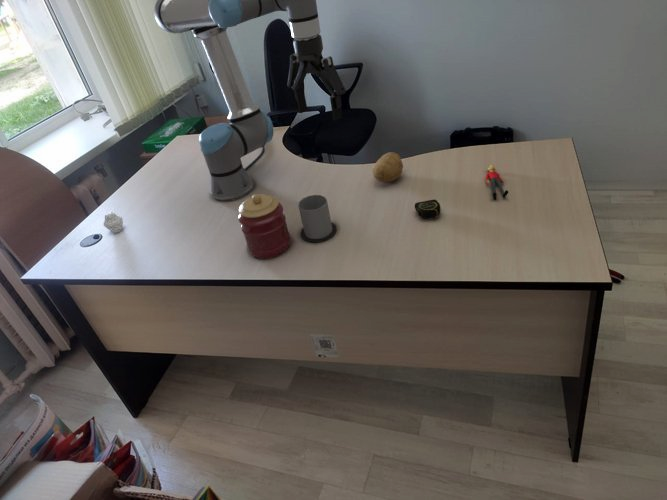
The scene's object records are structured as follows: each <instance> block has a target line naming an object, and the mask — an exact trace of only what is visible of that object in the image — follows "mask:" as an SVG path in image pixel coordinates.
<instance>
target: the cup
mask: <svg viewBox="0 0 667 500" xmlns="http://www.w3.org/2000/svg"><path fill="white" fill-rule="evenodd" d="M297 207H298V211H299V216H300V219H301V223H302V229H303V228H304V233H305V235H306V237H308V238H310V239H320V238H324V237H326V236H328V235H329V234H330V233H331V232H332V223H333V222H332V220H331V213H330V208H329V203H328V199H327V198H326V196H324V195H321V194H312V195H307V196H306V197H302V199H301V200H300V201H299V202H298V204H297ZM331 222H332V223H331Z"/></svg>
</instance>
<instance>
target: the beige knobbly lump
mask: <svg viewBox="0 0 667 500" xmlns="http://www.w3.org/2000/svg"><path fill="white" fill-rule="evenodd" d="M123 225H124V221H123V217H122V216H120V215H118V214H116V213H115V212H113V211H110V212H108V213H106V214H105V215H104V221H103V227H105V228H106V229H107V230H108V231H110V232H112V233H114V234H115V233H116V234H117V233H119V232H121V231H122V230H123Z"/></svg>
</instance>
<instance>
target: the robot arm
mask: <svg viewBox="0 0 667 500" xmlns="http://www.w3.org/2000/svg"><path fill="white" fill-rule="evenodd" d="M153 8H154V9H153V15H154V19H155V21H156V23H157V24H158V26H159V27H160V28H161V29H162V30H163V31H165V32H167V33H170V34H184V33H187V32H190V31H191V32H192V34H193V36H194V37H195V38H197V39H198V40H200V41H201V44H202V47H203V49H204V51H205V53H206V56H207V59H208V62H209V64H210V66H211V69H212V71H213V74H214V76H215V79H216V81H217V84H218V87H219V88H220V91H221V94H222V96H223V99H224V101H225V103H226V107H227V108H228V111H229V113H228V116H227V121H228V122H219V123H216V124H215V123H214V124H211V125H210V126H208V127H206V128H205V129H204V130H203V131H202V132H201V133H200V134H199V137H198V142H199V147H200V152H201V153H202V156H203V158H204V161H205V163H206V166H207V169H208V172H209V175H210V194H211V196H212V198H213V199H214V200H216V201H219V202H229V201H235V200H238V199H241V198H244V197H245V196H246V195H248V194H249V193H251V191H252V190H253V189H254V186H255V185H254V181H253V179H252V178H251V176H250V175H249V173H248V171H247V170H249V169H250V168H251V167H252V166H254V164H255V163H256V162H257V161H259V160H260V159H261V157H262V156H263V155H264V153H265V150H266V149H265V148H266V147H265V146H266V145H268V144H269V143H270V142H272V139H273V137H274V125H273V124H276V122H275V121H274V120H272V119H271V117H270V115H268V113H267V111H265V110H261V109H260V107H259V106H258V105H256V104H255V103H254V102H253V99H252V97H251V94H250V92H249V88H248V87H247V84H246V81H245V78H244V75H243V73H242V70H241V68H240V65H239V62H238V60H237V56H236V54H235V52H234V49H233V46H232V44H231V41H230V38H229V36H228V33H227V29H228V28H234V27H236V26H238V25H240V24H243V23H245V22H248V21H251V20H253V19H257V18H261V17H263V16H267V15H270V14H272V13H275V12H287V15H288V16H287V17H288V22H289V28H290V34H291V38H293V40H292V45H293V49H294V53H292V54H290V55H289V68H288V69H289V70H288V78H287V84H286V85H287V87H288V88H291V89H292V90H293V93H294V96H295V100H296V101H297V102H296V104H297V108H298V113H299V114H302V113H305V112H306V111H308V105H307V99H306V95H305V89H304V87H303V83H304V81H305V79H306V77H307V75H309V74H310V75H315V77H317V78H319V79H320V82H321V83H322V84H323V85H324V87H325V88H326V90H327V92H328V93H329V94H330V95H331V96H330V97H329V101H330V108H331V114H332V120H333V121H334V122H336V121H338V120H339V119H341V118H342V117H343V115H342V108H341V107H342V98H341V96H342V95H344V94H346V92H347V89H346V88H345V86H344V84H343V82H342V79H341V77H340V76H339V73H338V70H337V69H336V67H335V63H334V60H333V57H332V56H331V55H330V56H328V57H324V56H323V50H324V44H323V38H322V35H321V24H320V19H319V12H318V5H317V0H156V2H155V4H154V7H153ZM261 148H262V149H261ZM259 149H261V152H260V153H259V155H258V156H257V157H255V159H253V161H252V162H250V163H249V164H248V165H247V166H246V167H245V168H244V166H243V162H242V158H243V157H245V156H247V155H249V154H250V153H252V152H255V151H256V150H259Z"/></svg>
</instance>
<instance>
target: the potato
mask: <svg viewBox="0 0 667 500" xmlns="http://www.w3.org/2000/svg"><path fill="white" fill-rule="evenodd" d="M403 168H404V164H403V161H402V158H401V157H400V155H399V153H396V152H394V151H389V152H387V153H384V154H383V155H381V157H380V158H378V160H377V161H376V162H375V164H374V165H373V167H372V170H371V171H372V175H373V177H374V179H375V180H377V181H378V182H379V183H384V184H385V183H391V182H393V181H395V180H397V179H398V178H399V177H400V176H401V174H402V172H403Z"/></svg>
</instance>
